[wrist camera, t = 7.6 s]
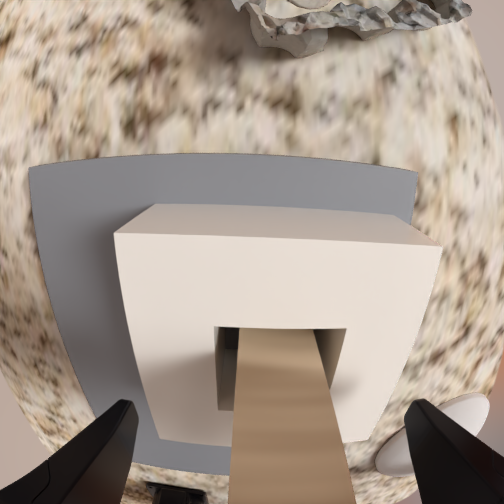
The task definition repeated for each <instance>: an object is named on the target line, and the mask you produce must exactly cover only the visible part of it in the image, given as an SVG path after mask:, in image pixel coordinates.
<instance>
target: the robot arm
mask: <svg viewBox="0 0 504 504" xmlns="http://www.w3.org/2000/svg"><path fill="white" fill-rule="evenodd" d="M138 424H139V416H138V413H137V411H136V408H135V405H134V403H133V401H131V400H126V399H120V400H118V401H117V402H116V403H115V404H113V405H112V406H111V407H110V408H109V409H107V410H106V411H105V412H104V413H103V414H102V415H100V416H99V417H98V418H97V419H96V420H94V421H93V422H92V423H91V424H90V425H88V426H87V427H86V428H85V429H84V430H82V431H81V432H80V433H79V434H78V435H76V436H75V437H74V438H73V439H71V440H70V441H69V442H68V443H67V444H65V445H64V446H63V447H62V448H60V449H59V450H58V451H57V452H55V453H54V454H53V455H52V456H51V457H49V458H48V460H45V461H44V462H43V463H42V464H40V465H39V466H38V467H36V468H35V469H34V470H32V471H31V472H30V473H28V474H27V475H25V476H23V477H22V478H20V479H19V480H17V481H15V482H14V483H12V484H10V485H8V486H7V487H5V488H3V489H1V490H0V504H120V502H121V498H122V495H123V491H124V488H125V484H126V481H127V477H128V474H129V470H130V467H131V463H132V459H133V453H134V447H135V441H136V435H137V429H138ZM404 424H405V429H406V435H407V440H408V446H409V452H410V457H411V461H412V465H413V469H414V472H415V476H416V480H417V484H418V488H419V492H420V496H421V500H422V504H504V457H503V456H501V455H500V454H498V453H497V452H496V451H494V450H492V449H491V448H490V447H489V446H487V445H486V444H485V443H483V442H482V441H481V440H479V439H478V438H477V437H475V436H474V435H473V434H471V433H470V432H469V431H467V430H466V429H465V428H463V427H462V426H460V425H459V424H458V423H456V422H455V421H454V420H452V419H451V418H450V417H448V416H447V415H446V414H444V413H443V412H442V411H440V410H439V409H438V408H436V407H435V406H434V405H432V404H431V403H430V402H429V401H427V400H426V399H417V400H414V401H413V402H412V403H411V405H410V407H409V408H408V410H407V412H406V414H405V416H404ZM146 487H147V489H148V490H149V492H150V493H151V495H152V496H153V502H152V504H209V503H208V499H207V495H206V492H203V491H197V490H189V489H181V488H175V487H169V486H163V485H158V484H152V483H147V484H146Z"/></svg>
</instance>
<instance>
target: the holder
mask: <svg viewBox="0 0 504 504" xmlns="http://www.w3.org/2000/svg"><path fill="white" fill-rule="evenodd" d="M114 241H115V250H116V258H117V265H118V272H119V279H120V285H121V291H122V297H123V302H124V308H125V313H126V318H127V323H128V328H129V333H130V337H131V342H132V346H133V350H134V354H135V358H136V362H137V366H138V370H139V374H140V378H141V381H142V385H143V388H144V392H145V395H146V398H147V402H148V405H149V408H150V411H151V415H152V418H153V421H154V424H155V427H156V429H157V432H158V435H159V438H160V439H164V440H170V441H177V442H185V443H193V444H203V445H214V446H229V447H231V446H232V430H233V415H234V400H235V386H236V371H237V357H238V349H225V327H240V328H272V329H314V330H313V332H314V336H315V339H316V343H317V346H318V350H319V354H320V357H321V361H322V365H323V368H324V372H325V376H326V379H327V383H328V387H329V391H330V395H331V398H332V402H333V406H334V410H335V414H336V418H337V422H338V426H339V430H340V434H341V438H342V443H348V442H356V441H363V440H368V438H369V437H370V435H371V433H372V431H373V429H374V428H375V426H376V424H377V422H378V420H379V418H380V417H381V415H382V413H383V411H384V409H385V407H386V405H387V403H388V401H389V399H390V397H391V395H392V393H393V391H394V389H395V386H396V384H397V382H398V380H399V378H400V375H401V373H402V371H403V369H404V366H405V364H406V362H407V359H408V357H409V354H410V352H411V349H412V347H413V344H414V342H415V339H416V336H417V334H418V331H419V328H420V325H421V323H422V320H423V317H424V314H425V311H426V308H427V305H428V301H429V298H430V295H431V292H432V288H433V285H434V281H435V278H436V274H437V270H438V266H439V263H440V258H441V254H442V250H443V246H442V245H440V244H439V243H437V242H436V241H434V240H433V239H431V238H429V237H428V236H426V235H425V234H423V233H422V232H420V231H419V230H417V229H415V228H414V227H412V226H411V225H409V224H407V223H406V222H404V221H402V220H401V219H399V218H398V217H396V216H394V215H389V214H378V213H366V212H354V211H341V210H326V209H311V208H293V207H273V206H250V205H217V204H154V205H153V206H151V207H150V208H148V209H147V210H145V211H144V212H142V213H141V214H140V215H138V216H137V217H135V218H134V219H132V220H131V221H129V222H128V223H127V224H125V225H124V226H122V227H121V228H120V229H118V230H117V231H116V232H114Z"/></svg>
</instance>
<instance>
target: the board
mask: <svg viewBox="0 0 504 504" xmlns="http://www.w3.org/2000/svg"><path fill="white" fill-rule="evenodd" d="M417 177H418V172H415V171H411V170H406V169H400V168H394V167H387V166H381V165H374V164H366V163H358V162H350V161H341V160H332V159H322V158H311V157H298V156H284V155H266V154H239V153H174V154H147V155H130V156H116V157H104V158H93V159H83V160H74V161H66V162H58V163H51V164H44V165H38V166H34V167H29V182H30V194H31V204H32V212H33V220H34V226H35V233H36V239H37V245H38V250H39V255H40V260H41V265H42V269H43V274H44V278H45V282H46V286H47V290H48V294H49V297H50V301H51V305H52V308H53V311H54V315H55V318H56V321H57V324H58V327H59V330H60V333H61V336H62V339H63V342H64V345H65V348H66V350H67V353H68V356H69V358H70V361H71V363H72V366H73V368H74V371H75V373H76V376H77V378H78V380H79V383H80V385H81V387H82V389H83V392H84V394H85V396H86V398H87V400H88V402H89V404H90V406H91V408H92V410H93V412H94V414H95V416H96V418H98V417H99V416H100V415H102V414H103V413H104V412H105V411H106V410H107V409H109V408H110V407H111V406H112V405H113V404H115V403H116V402H117V401H118V400H120V399H126V400H131V401H133V403H134V405H135V408H136V411H137V413H138V416H139V424H138V429H137V435H136V441H135V447H134V453H133V459H132V462H135V463H140V464H145V465H150V466H155V467H160V468H166V469H172V470H179V471H186V472H194V473H203V474H214V475H228V476H230V461H231V447H229V446H214V445H203V444H193V443H185V442H177V441H170V440H164V439H160V438H159V435H158V432H157V429H156V427H155V424H154V421H153V418H152V415H151V411H150V408H149V405H148V402H147V398H146V395H145V392H144V388H143V385H142V381H141V378H140V374H139V370H138V366H137V362H136V358H135V354H134V350H133V346H132V342H131V337H130V333H129V328H128V323H127V318H126V313H125V308H124V302H123V297H122V291H121V285H120V279H119V272H118V265H117V258H116V250H115V241H114V232H116V231H117V230H118V229H120V228H121V227H122V226H124V225H125V224H127V223H128V222H129V221H131V220H132V219H134V218H135V217H137V216H138V215H140V214H141V213H142V212H144V211H145V210H147V209H148V208H150V207H151V206H153V205H154V204H217V205H250V206H273V207H293V208H311V209H326V210H341V211H354V212H366V213H378V214H389V215H394V216H396V217H398V218H399V219H401V220H402V221H404V222H406V223H407V224H409V225H411V220H412V214H413V207H414V201H415V193H416V186H417ZM239 329H240V327H225V349H238V343H239ZM313 330H314V329H313Z"/></svg>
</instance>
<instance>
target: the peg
mask: <svg viewBox="0 0 504 504" xmlns="http://www.w3.org/2000/svg"><path fill="white" fill-rule="evenodd" d="M228 504H356V500H355V495H354V491H353V486H352V482H351V477H350V473H349V468H348V464H347V459H346V455H345V451H344V447H343V443H342V438H341V434H340V430H339V426H338V422H337V418H336V414H335V410H334V406H333V402H332V398H331V395H330V391H329V387H328V383H327V379H326V376H325V372H324V368H323V365H322V361H321V357H320V354H319V350H318V346H317V343H316V339H315V336H314V332H313V329H272V328H240V329H239V343H238V357H237V371H236V386H235V400H234V415H233V430H232V446H231V461H230V477H229V493H228Z"/></svg>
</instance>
